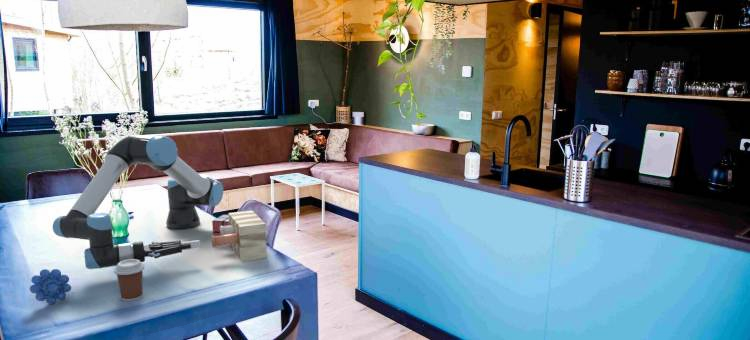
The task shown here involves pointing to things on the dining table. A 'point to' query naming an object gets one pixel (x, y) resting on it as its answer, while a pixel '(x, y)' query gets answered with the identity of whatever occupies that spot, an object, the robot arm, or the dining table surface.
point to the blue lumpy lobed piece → (50, 286)
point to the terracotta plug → (225, 239)
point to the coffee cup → (130, 279)
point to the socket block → (249, 235)
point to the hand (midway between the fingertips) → (199, 243)
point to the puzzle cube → (220, 224)
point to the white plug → (226, 230)
